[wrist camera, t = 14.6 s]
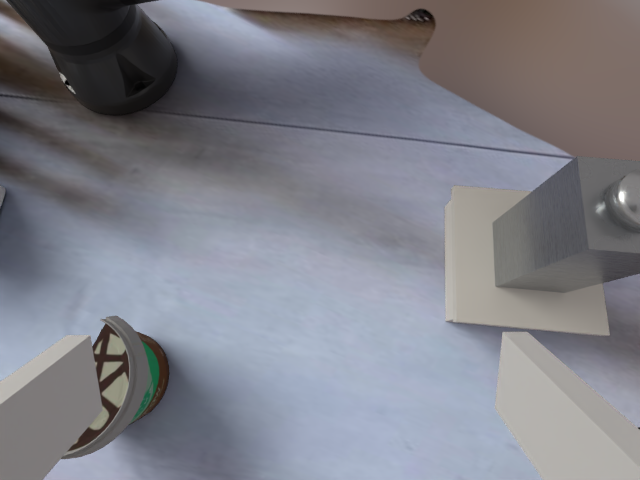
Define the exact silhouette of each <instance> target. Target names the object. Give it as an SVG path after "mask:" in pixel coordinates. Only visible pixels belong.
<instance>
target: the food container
mask: <svg viewBox="0 0 640 480" xmlns="http://www.w3.org/2000/svg"><path fill="white" fill-rule="evenodd" d="M100 320H101V321H103V322H105V323H106V324H105V326H104V327H103V329H102V330H101V332H100V334H99V336H98V338H97V340H96V342H95V343H94V345H93V346H92V348H93V354H94V360H95V366H96V372H97V378H98V384H99V390H100V396H101V402H102V408H103V411H102V412H101V413H100V414H99V415H98V416H97V418H96V419H95V420H94V421H93V422H92V423H91V424H90V426H89V427H88V428H87V429H86V430H85V431H84V433H83V434H82V435H81V436H80V437H79V438H78V439H77V441H76V442H75V443H74V444H73V445H72V446H71V447H70V449H69V450H68V451H67V452H66V453H65V454H64V456H63V457H62V458H61V459H70V458H76V457H81V456H84V455H87V454H91V453H93V452H95V451H97V450H99V449H101V448H103V447H104V446H106V445H107V444H109V443H110V442H111V441H113V440H114V439H115V438H116V437H117V436H118V435H119V434H121V433H122V432H123V431H124V429H125V428H126V427H127V426H128V425H129V424H131V423H133V422H135V421H137V420H139V419H140V418H142V417H143V416H145V415H146V414H148V413H149V412H151V411H152V410H153V409H154V408H155V406H156V405H157V404H158V403H159V402H160V400H161V399H162V397H163V395H164V393H165V391H166V388H167V384H168V380H169V365H168V360H167V357H166V355H165V353H164V351H163V349H162V348H161V347H160V345H159V344H158V343H157V342H156V341H155V340H153V339H152V338H150V337H148V336H147V335H144V334H142V333H139V332H136V331H135V330H134V329H133V328H132V327H131V326H130V325H129V324H128V323H127V322H125V321H124V320H123V319H121V318H119V317H118V316H110V317H106V319H100Z"/></svg>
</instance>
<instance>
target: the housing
mask: <svg viewBox="0 0 640 480" xmlns="http://www.w3.org/2000/svg"><path fill="white" fill-rule="evenodd" d="M492 225H493V247H494V269H495V287H506V288H517V289H527V290H538V291H549V292H560V293H566V292H570V291H574V290H578V289H582V288H586V287H589V286H593V285H597V284H601V283H605V282H609V281H613V280H616V279H620V278H624V277H628V276H632V275H636V274H639V273H640V161H630V160H617V159H605V158H593V157H580V156H577V157H576V158H574V159H573V160H572V161H570V162H569V163H568V164H567V165H565V166H564V167H563V168H562V169H560V170H559V171H558V172H556V173H555V174H554V175H553V176H551V177H550V178H549V179H548V180H546V181H545V182H544V183H542V184H541V185H540V186H539V187H537V188H536V189H535V190H533V191H532V192H531V193H530V194H528V195H527V196H526V197H525V198H523V199H522V200H521V201H519V202H518V203H517V204H516V205H514V206H513V207H512V208H511V209H509V210H508V211H507V212H505V213H504V214H503V215H502V216H500V217H499V218H498V219H496V220H495V221H494V222H493V223H492Z"/></svg>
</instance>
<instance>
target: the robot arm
mask: <svg viewBox="0 0 640 480" xmlns="http://www.w3.org/2000/svg"><path fill="white" fill-rule="evenodd" d="M6 1H7V2H8V3H9V4H10V5H11V6H12V7H13V8H14V10H15V11H16V12H17V13H18V14H19V15H20V16H21V17H22V18H23V20H24V21H25V22H26V23H27V24H28V25H29V26H30V27H31V28H32V30H33V31H34V32H35V33H36V34H37V35H38V36H39V37H40V38H41V40H42V41H43V42H44V43H45V44H46V45H47V47H48V49H49V51H50V53H51V56H52V58H53V60H54V63H55V65H56V67H57V69H58V71H59V73H60V76H61V79H62V81H63V83H64V85H65V86H66V88H67V89H68V90H69V91H70V92H71V94H72V95H73V96H74V97H75V98H76V99H77V100H78V101H79V102H80V103H81V104H82V105H84V106H85V107H87V108H88V109H90V110H93V111H95V112H98V113H102V114H109V115H120V114H127V113H132V112H135V111H138V110H141V109H143V108H145V107H147V106H149V105H151V104H152V103H154V102H155V101H157V100H158V99H159V98H160V97H161V96H162V95H164V93H165V92H166V91H167V90H168V89H169V87H170V86H171V84H172V82H173V80H174V78H175V75H176V71H177V57H176V53H175V51H174V49H173V47H172V45H171V43H170V41H169V39H168V37H167V35H166V34H165V32H164V31H163V30H162V29H161V28H160V27H159V26H158V25H157V24H156V23H155V22H153V21H152V20H151V19H150V18H149V17H148V16H147V15H146V14H145V13H144V11H143V10H142V9H141V8H140V7H139V6H138V5H137V4H140V3H145V2H151V1H157V0H6ZM495 409H496V411H497V412H498V414H499V415H500V417H501V418H502V420H503V421H504V423H505V424H506V426H507V427H508V429H509V430H510V432H511V433H512V435H513V436H514V438H515V439H516V441H517V442H518V444H519V445H520V446H521V448H522V449H523V451H524V452H525V454H526V455H527V457H528V458H529V460H530V461H531V463H532V464H533V466H534V467H535V469H536V470H537V472H538V473H539V475H540V476H541V478H542V479H543V480H640V428H637V427H636V426H635V425H634V424H633V423H631V422H630V421H629V420H628V419H627V418H626V417H625V416H623V415H622V414H621V413H620V412H619V411H618V410H616V409H615V408H614V407H613V406H612V405H611V404H610V403H608V402H607V401H606V400H605V399H604V398H603V397H602V396H600V395H599V394H598V393H597V392H596V391H595V390H594V389H592V388H591V387H590V386H589V385H588V384H587V383H585V382H584V381H583V380H582V379H581V378H580V377H579V376H577V375H576V374H575V373H574V372H573V371H572V370H571V369H569V368H568V367H567V366H566V365H565V364H564V363H563V362H561V361H560V360H559V359H558V358H557V357H556V356H554V355H553V354H552V353H551V352H550V351H549V350H548V349H546V348H545V347H544V346H543V345H542V344H541V343H540V342H538V341H537V340H536V339H535V338H534V337H533V336H532V335H530V334H529V333H528V332H503V334H502V344H501V353H500V363H499V373H498V382H497V392H496V402H495ZM102 411H103V408H102V402H101V396H100V390H99V384H98V378H97V372H96V366H95V360H94V354H93V348H92V342H91V336H90V335H67V336H65V337H64V338H62V339H61V340H59V341H58V342H57V343H55V344H54V345H52V346H51V347H49V348H48V349H47V350H45V351H44V352H42V353H41V354H39V355H38V356H37V357H35V358H34V359H32V360H31V361H29V362H28V363H27V364H25V365H24V366H22V367H21V368H19V369H18V370H17V371H15V372H14V373H12V374H11V375H9V376H8V377H6V378H5V379H4V380H2V381H1V382H0V480H43V479H44V477H45V476H46V475H47V474H48V473H49V472H50V470H51V469H52V468H53V467H54V466H55V465H56V464H57V462H58V461H59V460H60V459H61V458H62V457H63V456H64V454H65V453H66V452H67V451H68V450H69V449H70V447H71V446H72V445H73V444H74V443H75V442H76V441H77V439H78V438H79V437H80V436H81V435H82V434H83V433H84V431H85V430H86V429H87V428H88V427H89V426H90V424H91V423H92V422H93V421H94V420H95V419H96V418H97V416H98V415H99V414H100V413H101V412H102Z"/></svg>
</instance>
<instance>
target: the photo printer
mask: <svg viewBox="0 0 640 480" xmlns="http://www.w3.org/2000/svg"><path fill="white" fill-rule="evenodd" d="M4 196H5V188H4V187H2V186H1V185H0V208H1V205H2V202H3V199H4Z"/></svg>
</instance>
